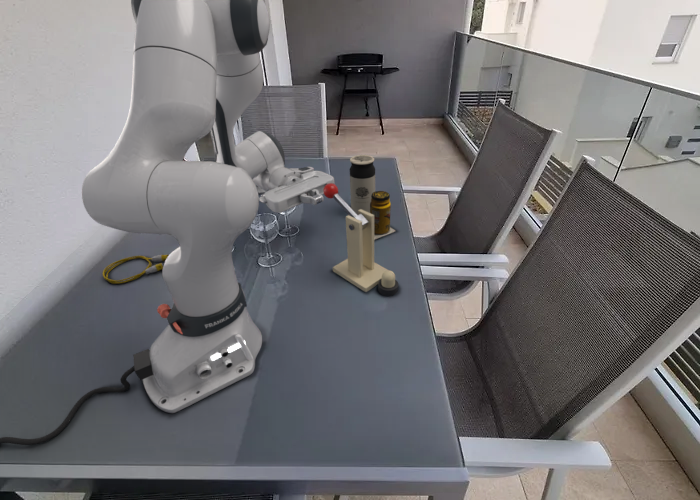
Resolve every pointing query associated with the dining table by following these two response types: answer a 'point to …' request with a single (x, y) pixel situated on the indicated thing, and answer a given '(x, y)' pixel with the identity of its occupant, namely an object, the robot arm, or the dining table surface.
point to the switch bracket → (360, 254)
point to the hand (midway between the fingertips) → (319, 200)
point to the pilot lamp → (388, 284)
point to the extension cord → (147, 270)
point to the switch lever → (343, 203)
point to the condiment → (381, 213)
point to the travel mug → (361, 182)
